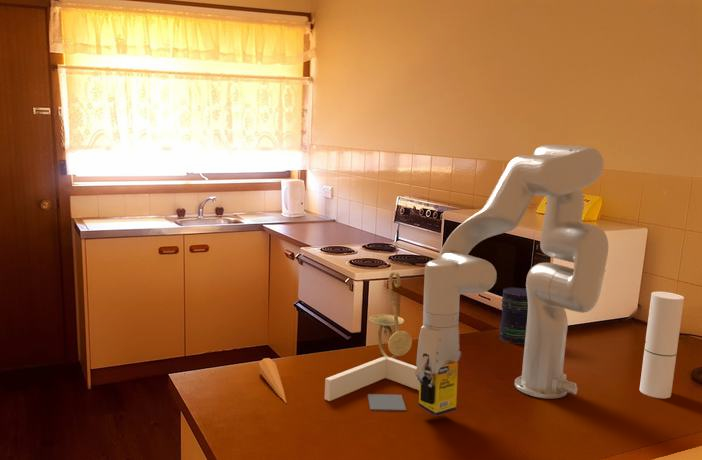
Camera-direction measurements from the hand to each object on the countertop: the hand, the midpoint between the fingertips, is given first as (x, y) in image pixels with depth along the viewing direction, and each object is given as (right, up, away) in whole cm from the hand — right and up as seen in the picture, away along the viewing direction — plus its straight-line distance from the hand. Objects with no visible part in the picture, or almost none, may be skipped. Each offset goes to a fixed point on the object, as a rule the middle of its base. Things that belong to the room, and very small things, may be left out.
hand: (437, 395), depth 140 cm
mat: (-11, -3, +7) cm, 13 cm away
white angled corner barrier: (-11, -3, +10) cm, 15 cm away
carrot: (-37, -2, +13) cm, 40 cm away
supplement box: (0, -3, +1) cm, 3 cm away
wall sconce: (-9, +1, +35) cm, 36 cm away
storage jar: (+32, +3, +58) cm, 66 cm away
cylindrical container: (+57, -5, +21) cm, 61 cm away
